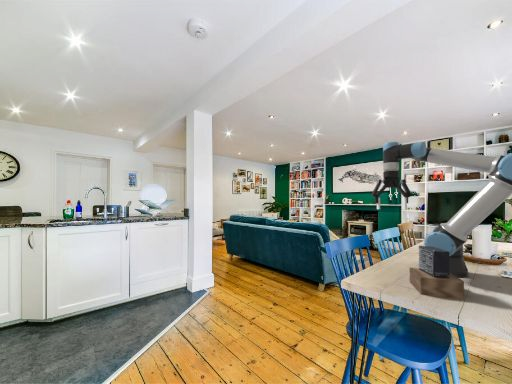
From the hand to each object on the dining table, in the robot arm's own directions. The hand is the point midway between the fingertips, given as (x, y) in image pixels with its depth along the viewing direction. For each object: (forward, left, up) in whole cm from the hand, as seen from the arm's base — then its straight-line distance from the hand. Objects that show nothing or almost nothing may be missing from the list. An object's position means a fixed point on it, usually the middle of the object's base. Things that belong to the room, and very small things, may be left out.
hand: (391, 209), depth 128 cm
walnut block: (-3, +30, -32) cm, 44 cm away
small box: (-3, +30, -25) cm, 39 cm away
